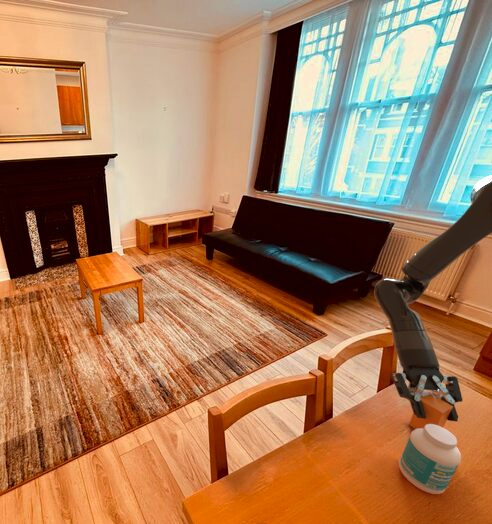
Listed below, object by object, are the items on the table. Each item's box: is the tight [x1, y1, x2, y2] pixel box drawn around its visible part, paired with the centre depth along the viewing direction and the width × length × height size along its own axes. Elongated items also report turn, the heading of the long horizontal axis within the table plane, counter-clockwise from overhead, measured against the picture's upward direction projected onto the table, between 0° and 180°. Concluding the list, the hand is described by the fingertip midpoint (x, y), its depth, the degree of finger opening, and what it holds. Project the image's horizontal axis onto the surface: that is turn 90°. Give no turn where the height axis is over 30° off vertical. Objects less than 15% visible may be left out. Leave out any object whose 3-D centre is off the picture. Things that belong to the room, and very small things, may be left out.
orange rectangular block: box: [408, 392, 453, 430], centre depth 69 cm, size 4×4×9 cm
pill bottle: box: [398, 424, 462, 495], centre depth 58 cm, size 8×7×14 cm
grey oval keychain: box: [421, 389, 439, 398], centre depth 79 cm, size 9×4×1 cm, turn 112°
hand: (437, 419), depth 67 cm, fingers closed on orange rectangular block, 6 cm apart
